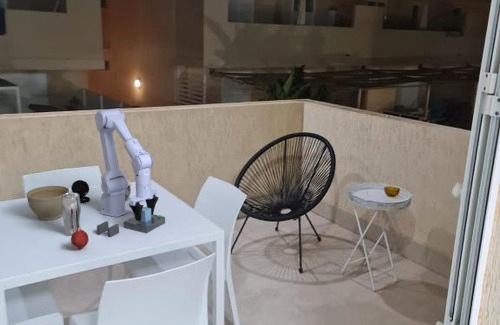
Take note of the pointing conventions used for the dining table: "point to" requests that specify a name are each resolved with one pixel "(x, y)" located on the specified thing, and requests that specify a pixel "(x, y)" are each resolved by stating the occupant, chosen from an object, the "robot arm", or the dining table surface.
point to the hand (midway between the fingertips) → (144, 217)
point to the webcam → (81, 190)
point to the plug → (146, 214)
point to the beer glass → (71, 212)
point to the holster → (108, 229)
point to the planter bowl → (46, 201)
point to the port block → (144, 224)
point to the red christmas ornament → (79, 239)
